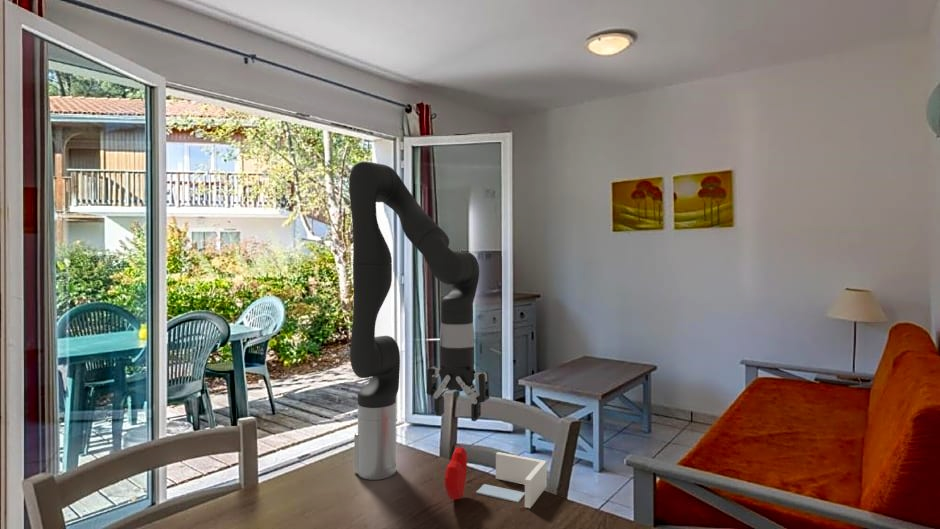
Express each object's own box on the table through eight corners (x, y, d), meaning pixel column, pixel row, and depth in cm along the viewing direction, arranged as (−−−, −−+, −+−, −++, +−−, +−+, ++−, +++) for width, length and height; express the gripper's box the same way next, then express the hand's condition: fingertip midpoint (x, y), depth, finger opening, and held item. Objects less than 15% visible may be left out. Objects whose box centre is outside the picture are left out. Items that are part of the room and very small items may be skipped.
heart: (461, 517, 108) (459, 472, 107) (441, 515, 109) (439, 470, 107) (472, 484, 120) (470, 443, 118) (454, 482, 121) (452, 442, 119)
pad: (476, 493, 117) (476, 491, 117) (484, 485, 121) (484, 483, 121) (518, 502, 113) (518, 501, 113) (525, 494, 117) (525, 492, 117)
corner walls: (477, 496, 116) (477, 469, 115) (497, 476, 126) (497, 452, 126) (530, 508, 110) (530, 480, 110) (546, 486, 120) (546, 461, 120)
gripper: (420, 343, 113) (420, 417, 114) (479, 348, 107) (479, 427, 107) (437, 338, 120) (437, 408, 120) (494, 343, 114) (494, 417, 114)
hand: (457, 417), depth 114 cm, fingers open, 8 cm apart
